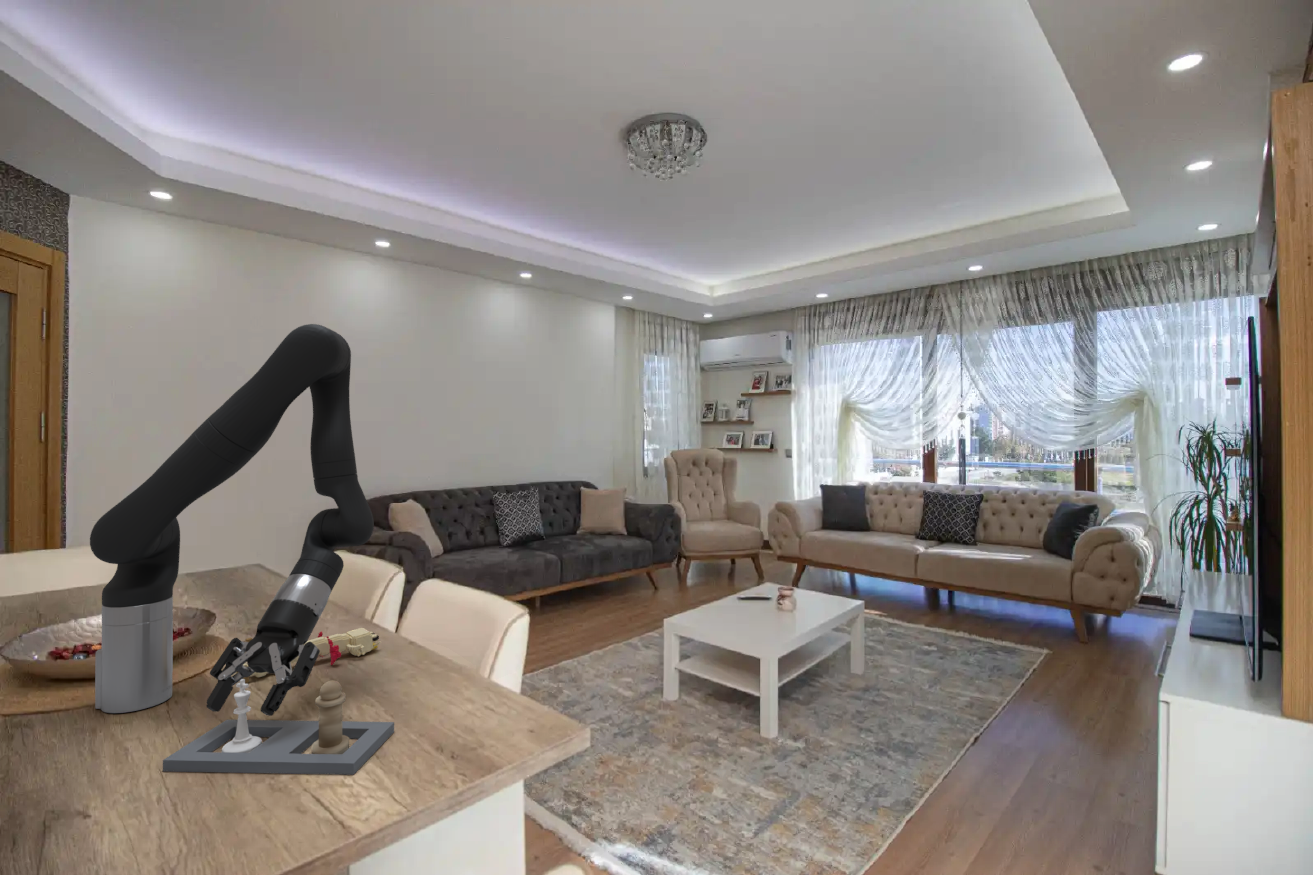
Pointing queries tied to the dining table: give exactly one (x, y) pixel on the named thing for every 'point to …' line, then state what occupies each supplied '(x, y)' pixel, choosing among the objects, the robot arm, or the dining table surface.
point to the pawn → (330, 721)
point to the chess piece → (242, 724)
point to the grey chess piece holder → (280, 749)
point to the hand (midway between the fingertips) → (238, 711)
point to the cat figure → (337, 645)
